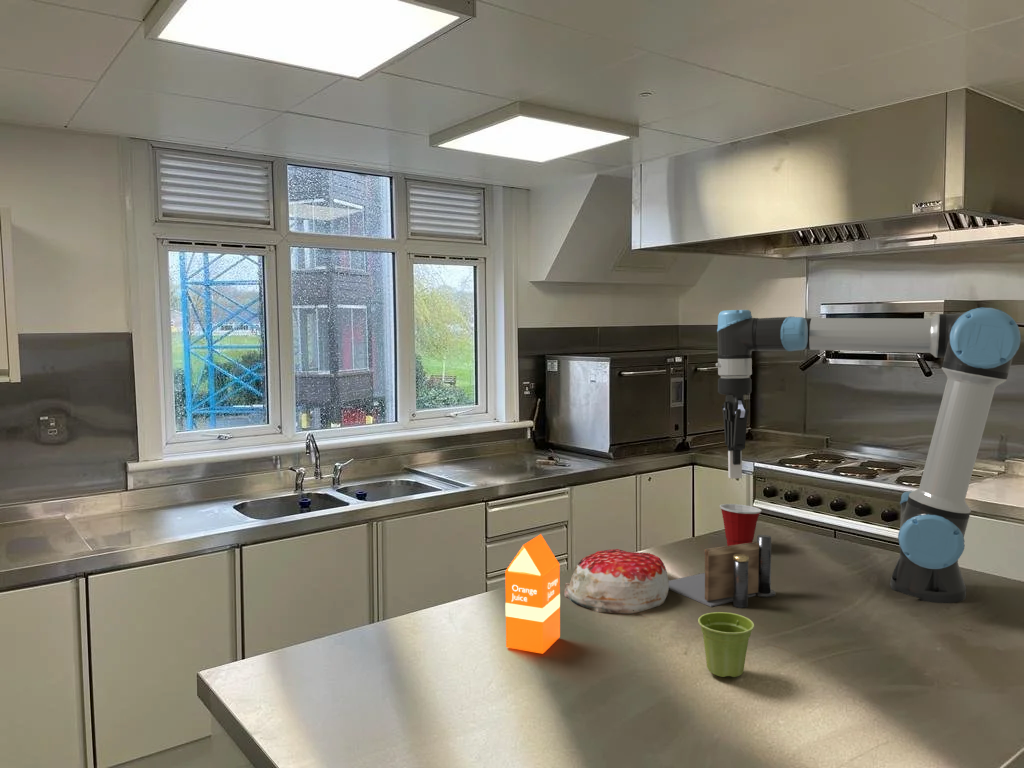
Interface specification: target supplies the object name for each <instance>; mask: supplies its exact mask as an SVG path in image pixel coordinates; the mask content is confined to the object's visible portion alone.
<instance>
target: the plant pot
mask: <svg viewBox="0 0 1024 768" xmlns="http://www.w3.org/2000/svg"><path fill="white" fill-rule="evenodd" d="M697 621H698V622H697V623H698V625H699V626H700V631H701V633H702V637H703V645H704V646H703V647H704V653H705V660H706V661H705V662H706V668H707V670H708V671H709V672H710V673H711V674H712V675H715V676H718V677H722V678H726V677H732V678H737V677H739V676H741V675H743V673H744V670H745V663H746V657H747V651H748V645H749V638H750V637H751V634H752V631H753V630H754V628H755V624H754V621H752V620H751V619H750V618H749V617H746V616H744V615H741V614H738V613H733V612H725V611H724V612H723V611H722V612H721V611H714V612H713V611H712V612H707V613H704V614H702V615H700V616H699V617H698V619H697Z"/></svg>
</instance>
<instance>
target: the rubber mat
mask: <svg viewBox="0 0 1024 768" xmlns="http://www.w3.org/2000/svg"><path fill="white" fill-rule="evenodd" d="M669 590H670V591H672V592H674V593H677V594H679V595H682V596H683V597H686V598H689V599H691V600H693V601H696V602H698V603H700V604H703V605H706V606H708V607H710V608H712V607H716V606H720V605H724V604H728V603H732V602H733V597H728V598H722V599H717V600H711V601H707V600H705V572H702V573H698V574H694V575H689V576H684V577H679V578H675V579H671V580H670V579H669V589H668V591H669ZM755 596H756V594H755V593H751V594H748V598H752V597H755ZM756 597H757V596H756Z"/></svg>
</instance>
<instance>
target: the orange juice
mask: <svg viewBox="0 0 1024 768" xmlns="http://www.w3.org/2000/svg"><path fill="white" fill-rule="evenodd" d="M560 568H561V565H560V562H559V561H558V560H557V558H556V557H555V554H554V553H553V552H552V549H551V548H550V546H549V545H548V543H547V541H546V540H545V538H544V536H543V535H542V533H540V534H539V535H537V536H535V537H534V538H532V539H530V540H529V541H527V542H526V543H524V544H522V546H521V548H520V549H519V551H518V552H517V554H516V555H515V556H514V558H513V559H512V560H511V562H510V563H509V566H507V568H506V570H505V571H504V575H505V584H504V585H505V607H504V608H505V609H504V610H505V611H504V612H505V648H508V649H513V650H514V649H515V650H520V651H526V652H531V653H537V654H544V653H546V652H547V650H548V649H550V648H551V646H553V644H555V642H557V640H559V639H560V637H561V587H560V585H561V583H560V582H561V580H560V572H561V571H560V570H561V569H560Z"/></svg>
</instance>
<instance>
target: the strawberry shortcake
mask: <svg viewBox="0 0 1024 768" xmlns="http://www.w3.org/2000/svg"><path fill="white" fill-rule="evenodd" d="M667 571H668V570H667V568H666V565H665V563H664V562H663V560H662V559H661V557H660V556H657V555H655V554H653V553H650V552H644V551H643V552H638V551H637V552H636V551H626V550H622V549H619V548H616V549H615V548H613V549H605V550H597V551H596V552H595V553H592V554H589V555H586V556H584V557H583V558H582V559H581V560H580V561H579V562H578V563H577V564H576V566H575V569H574V571H573V573H572V575H571V579H570V581H569V582H565V584H564V597H565V598H567V599H569V600H570V602H572V603H574V604H576V605H578V606H580V607H583V608H586V609H589V610H591V611H594V612H596V613H611V614H636V613H640V612H643V611H647V610H650V609H654V608H655V607H659V606H661V605H663V604H664V603H665V601H666V598H667V596H668V594H669V581H670V579H669V577H668V572H667Z"/></svg>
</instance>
